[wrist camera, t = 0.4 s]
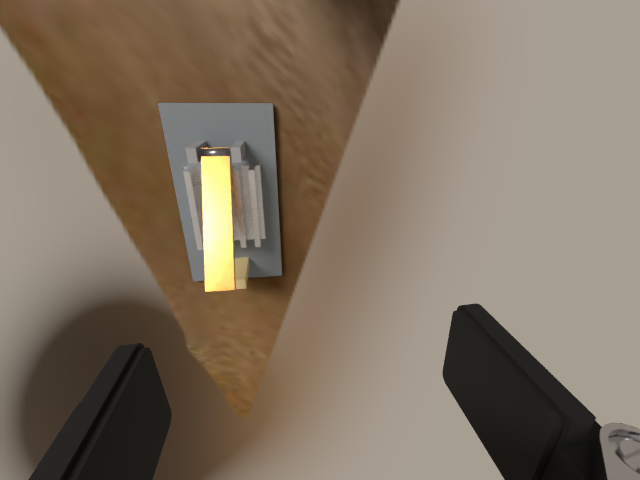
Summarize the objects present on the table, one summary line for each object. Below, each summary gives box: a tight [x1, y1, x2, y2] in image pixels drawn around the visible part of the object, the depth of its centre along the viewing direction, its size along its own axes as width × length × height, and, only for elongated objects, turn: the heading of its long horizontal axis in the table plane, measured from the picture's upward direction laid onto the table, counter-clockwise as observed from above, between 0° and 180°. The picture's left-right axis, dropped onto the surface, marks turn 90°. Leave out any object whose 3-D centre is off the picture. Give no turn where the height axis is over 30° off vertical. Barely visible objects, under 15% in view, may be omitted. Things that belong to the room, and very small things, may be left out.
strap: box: [200, 148, 236, 292], centre depth 33 cm, size 16×3×1 cm, turn 179°
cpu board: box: [158, 103, 282, 289], centre depth 39 cm, size 24×13×7 cm, turn 0°
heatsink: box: [183, 163, 266, 250], centre depth 39 cm, size 10×9×4 cm
